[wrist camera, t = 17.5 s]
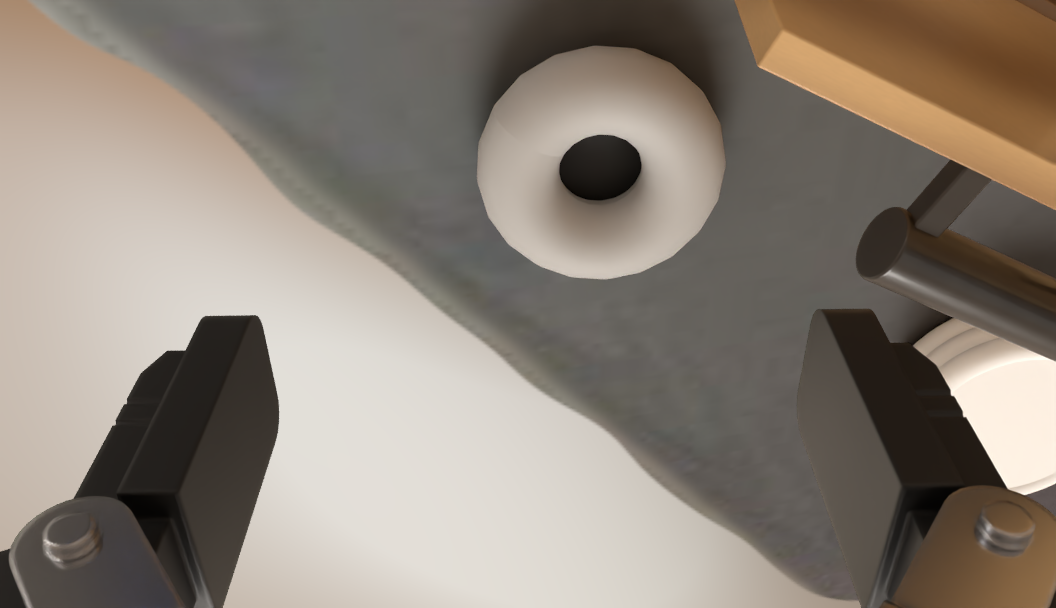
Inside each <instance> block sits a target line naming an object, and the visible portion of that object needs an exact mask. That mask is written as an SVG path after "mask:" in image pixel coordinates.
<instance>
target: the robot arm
mask: <svg viewBox="0 0 1056 608" xmlns="http://www.w3.org/2000/svg"><path fill="white" fill-rule="evenodd" d="M797 417H798V425H799V430H800V434H801V437H802V440H803V443H804V446H805V449H806V451H807V454H808V457H809V460H810V463H811V466H812V468H813V471H814V474H815V477H816V480H817V483H818V485H819V488H820V491H821V494H822V497H823V500H824V503H825V505H826V508H827V511H828V514H829V517H830V520H831V522H832V525H833V528H834V531H835V534H836V537H837V539H838V542H839V545H840V548H841V551H842V554H843V557H844V559H845V562H846V565H847V568H848V571H849V574H850V576H851V579H852V582H853V585H854V588H855V591H856V593H857V596H858V599H859V602H860V605H861V608H1056V517H1055V516H1054V515H1053V514H1052V513H1051V512H1050V511H1049V510H1047V509H1046V508H1045V507H1043V506H1042V505H1041V504H1039V503H1038V502H1036V501H1034V500H1033V499H1031V498H1029V497H1027V496H1025V495H1023V494H1020V493H1018V492H1015V491H1012V490H1009V489H1008V488H1007V487H1006V485H1005V483H1004V482H1003V480H1002V478H1001V476H1000V475H999V473H998V471H997V469H996V468H995V466H994V464H993V462H992V461H991V459H990V457H989V456H988V454H987V452H986V450H985V449H984V447H983V445H982V443H981V442H980V440H979V438H978V436H977V435H976V433H975V431H974V430H973V428H972V426H971V424H970V423H969V421H968V419H967V417H963V410H962V409H961V407H960V405H959V404H958V402H957V400H956V398H955V397H954V396H951V390H950V388H949V386H948V385H947V383H946V381H945V379H944V378H943V376H942V374H941V372H940V371H939V369H938V367H937V365H936V364H934V363H933V362H932V361H931V360H929V359H928V358H927V357H926V356H924V355H923V354H922V353H921V352H919V351H918V350H917V349H916V348H915V347H913V346H912V345H911V344H910V343H890V342H889V340H888V338H887V336H886V334H885V332H884V330H883V328H882V327H881V325H880V323H879V321H878V319H877V317H876V315H875V314H874V312H873V311H872V310H871V309H818V310H816V311H815V313H814V315H813V317H812V320H811V324H810V330H809V335H808V340H807V346H806V351H805V356H804V362H803V367H802V372H801V378H800V383H799V388H798V395H797ZM278 424H279V404H278V396H277V391H276V386H275V382H274V377H273V372H272V368H271V363H270V358H269V354H268V349H267V344H266V339H265V335H264V330H263V326H262V323H261V321H260V319H259V317H258V316H256V315H254V316H253V315H250V316H205V317H203V318H202V319H201V321H200V322H199V324H198V326H197V328H196V330H195V332H194V334H193V337H192V338H191V341H190V343H189V345H188V347H187V349H186V351H166V352H165V353H164V354H163V355H162V356H161V357H159V358H158V359H157V360H156V361H155V362H154V363H152V364H151V365H150V366H149V367H148V368H147V369H145V370H144V371H143V372H142V373H141V374H140V376H139V378H138V380H137V381H136V383H135V385H134V387H133V389H132V391H131V393H130V394H129V396H128V398H127V404H125V405H124V406H123V408H122V409H121V412H120V413H119V415H118V417H117V419H116V425H115V426H112V428H111V430H110V432H109V434H108V435H107V437H106V440H105V441H104V443H103V445H102V447H101V449H100V450H99V452H98V454H97V456H96V458H95V460H94V462H93V464H92V465H91V467H90V469H89V471H88V473H87V475H86V477H85V479H84V480H83V482H82V484H81V486H80V488H79V490H78V492H77V493H76V495H75V497H74V499H72V500H68V501H65V502H63V503H60V504H57V505H55V506H53V507H51V508H49V509H47V510H46V511H44V512H42V513H41V514H39V515H38V516H36V517H35V518H34V519H32V520H31V521H30V522H29V523H28V524H27V525H26V526H25V527H24V528H23V529H22V530H21V531H20V532H19V534H18V535H17V536H16V538H15V540H14V542H13V544H12V545H11V548H10V549H8V550H5V551H1V552H0V608H223V605H224V601H225V598H226V595H227V592H228V589H229V586H230V583H231V580H232V577H233V573H234V570H235V567H236V564H237V561H238V558H239V555H240V551H241V548H242V545H243V542H244V539H245V536H246V533H247V530H248V526H249V523H250V520H251V516H252V514H253V510H254V507H255V504H256V501H257V498H258V495H259V492H260V489H261V486H262V482H263V479H264V476H265V473H266V470H267V467H268V464H269V460H270V457H271V454H272V451H273V448H274V445H275V441H276V438H277V433H278Z"/></svg>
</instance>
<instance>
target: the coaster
mask: <svg viewBox="0 0 1056 608" xmlns="http://www.w3.org/2000/svg"><path fill="white" fill-rule="evenodd" d="M913 347H915V348H916V349H917V350H918V351H919V352H921V353H922V354H923V355H924V356H926V357H927V358H928V359H929V360H931V361H932V362H933V363H934V364H936V365H937V367H938V369H939V371H940V372H941V374H942V376H943V378H944V379H945V381H946V383H947V385H948V386H949V388H950V390H951V396H954V397H955V398H956V400H957V402H958V404H959V405H960V407H961V409H962V410H963V417H967V419H968V421H969V423H970V424H971V426H972V428H973V430H974V431H975V433H976V435H977V436H978V438H979V440H980V442H981V443H982V445H983V447H984V449H985V450H986V452H987V454H988V456H989V457H990V459H991V461H992V462H993V464H994V466H995V468H996V469H997V471H998V473H999V475H1000V476H1001V478H1002V480H1003V482H1004V483H1005V485H1006V487H1007V488H1008V489H1009V490H1012V491H1015V492H1018V493H1020V494H1023V495H1026V494H1030V493H1033V492H1036V491H1039V490H1042V489H1044V488H1046V487H1049V486H1051V485H1053V484H1055V483H1056V362H1055V361H1053V360H1051V359H1048V358H1046V357H1044V356H1041V355H1039V354H1037V353H1034V352H1032V351H1030V350H1027V349H1025V348H1023V347H1020V346H1018V345H1016V344H1013V343H1011V342H1009V341H1006V340H1004V339H1002V338H999V337H997V336H995V335H993V334H990V333H988V332H986V331H983V330H981V329H979V328H976V327H974V326H972V325H969V324H967V323H965V322H962V321H960V320H958V319H955V318H953V319H951V320H949V321H947V322H945V323H943V324H941V325H940V326H938V327H937V328H935V329H933V330H932V331H930V332H929V333H927V334H926V335H925V336H924V337H922V338H921V339H920V340H919V341H917V342H916V343H915V344H914V345H913Z"/></svg>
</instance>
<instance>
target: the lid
mask: <svg viewBox="0 0 1056 608" xmlns="http://www.w3.org/2000/svg"><path fill="white" fill-rule="evenodd" d="M735 3H736V6H737V9H738V12H739V15H740V17H741V20H742V23H743V26H744V29H745V32H746V34H747V37H748V40H749V43H750V46H751V48H752V51H753V54H754V57H755V60H756V63H757V65H758V67H760V68H762V69H764V70H766V71H768V72H770V73H772V74H774V75H776V76H778V77H780V78H783V79H785V80H787V81H789V82H791V83H793V84H795V85H797V86H799V87H801V88H803V89H805V90H807V91H810V92H812V93H814V94H816V95H818V96H820V97H822V98H824V99H826V100H828V101H830V102H832V103H834V104H836V105H839V106H841V107H843V108H845V109H847V110H849V111H851V112H853V113H855V114H857V115H859V116H861V117H863V118H866V119H868V120H870V121H872V122H874V123H876V124H878V125H880V126H882V127H884V128H886V129H888V130H890V131H893V132H895V133H897V134H899V135H901V136H903V137H905V138H907V139H909V140H911V141H913V142H915V143H917V144H919V145H922V146H924V147H926V148H928V149H930V150H932V151H934V152H936V153H938V154H940V155H942V156H944V157H946V158H949V159H951V160H950V161H949V162H948V163H947V164H946V165H945V166H944V168H943V169H942V170H941V171H940V172H939V173H938V175H937V176H936V177H935V178H934V179H933V180H932V181H931V183H930V184H929V185H928V186H927V187H926V188H925V189H924V191H923V192H922V193H921V194H920V195H919V196H918V197H917V199H916V200H915V201H914V202H913V203H912V204H911V205H910V207H909V208H908V209H907V210H906V209H904V208H901V207H892V208H889V209H886V210H884V211H883V212H881V213H880V214H879V215H878V216H876V217H875V218H874V220H873V221H872V222H871V223H870V224H869V226H868V227H867V229H866V230H865V232H864V234H863V236H862V238H861V240H860V242H859V245H858V248H857V253H856V268H857V271H858V273H859V274H860V276H861V277H862V278H863V279H865V280H867V281H870V282H872V283H874V284H877V285H879V286H881V287H884V288H886V289H888V290H890V291H893V292H895V293H897V294H900V295H902V296H904V297H907V298H909V299H911V300H914V301H916V302H918V303H921V304H923V305H925V306H928V307H930V308H932V309H935V310H937V311H939V312H942V313H944V314H946V315H948V316H951V317H953V318H955V319H958V320H960V321H962V322H965V323H967V324H969V325H972V326H974V327H976V328H979V329H981V330H983V331H986V332H988V333H990V334H993V335H995V336H997V337H999V338H1002V339H1004V340H1006V341H1009V342H1011V343H1013V344H1016V345H1018V346H1020V347H1023V348H1025V349H1027V350H1030V351H1032V352H1034V353H1037V354H1039V355H1041V356H1044V357H1046V358H1048V359H1051V360H1053V361H1055V362H1056V278H1054V277H1052V276H1050V275H1047V274H1045V273H1043V272H1041V271H1039V270H1037V269H1034V268H1032V267H1030V266H1028V265H1026V264H1023V263H1021V262H1019V261H1017V260H1015V259H1013V258H1010V257H1008V256H1006V255H1004V254H1002V253H1000V252H997V251H995V250H993V249H991V248H989V247H986V246H984V245H982V244H980V243H978V242H976V241H973V240H971V239H969V238H967V237H965V236H962V235H960V234H958V233H956V232H954V231H952V230H949V229H947V228H948V227H949V226H950V225H951V223H952V222H953V221H954V220H955V219H956V218H957V217H958V216H959V215H960V214H961V213H962V211H963V210H964V209H965V208H966V207H967V206H968V205H969V204H970V203H971V202H972V201H973V199H974V198H975V197H976V196H977V195H978V194H979V193H980V192H981V191H982V190H983V189H984V188H985V186H986V185H987V184H988V183H989V182H990V181H991V180H994V181H996V182H998V183H1000V184H1003V185H1005V186H1007V187H1009V188H1011V189H1013V190H1015V191H1017V192H1019V193H1021V194H1023V195H1025V196H1027V197H1029V198H1032V199H1034V200H1036V201H1038V202H1040V203H1042V204H1044V205H1046V206H1048V207H1050V208H1052V209H1054V210H1056V22H1055V21H1053V20H1051V19H1049V18H1047V17H1045V16H1044V15H1042V14H1040V13H1038V12H1036V11H1034V10H1033V9H1031V8H1029V7H1027V6H1025V5H1023V4H1022V3H1020V2H1018V1H1016V0H735Z"/></svg>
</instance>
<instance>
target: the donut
mask: <svg viewBox="0 0 1056 608" xmlns="http://www.w3.org/2000/svg"><path fill="white" fill-rule="evenodd" d="M599 134H601V135H614V136H617V137H619V138H622V139H624V140H627V141H628V142H629V143H630V144H632V145H633V146H634V147H635V148H636V149H637V151H638V152H639V154H640V158H641V163H642V167H641V172H640V174H639V176H638V178H637V180H636V182H635V183H634V184H633V185H632V186H631V187H630V188H629V189H628V190H627V191H626V192H625V193H623V194H621V195H619V196H617V197H615V198H611V199H606V200H602V201H598V200H586V199H583V198H581V197H578V196H576V195H574V194H573V193H572V192H571V191H569V190H568V189H567V188H566V187H565V186H564V184H563V183H562V181H561V178H560V174H559V168H560V162H561V160H562V158H563V156H564V154H565V153H566V152H567V151H568V150H569V149H570V148H571V146H572V145H573V144H575V143H577V142H579V141H580V140H582V139H584V138H586V137H590V136H595V135H599ZM725 166H726V160H725V152H724V145H723V138H722V131H721V124H720V122H719V120H718V118H717V117H716V115H715V113H714V111H713V109H712V107H711V105H710V104H709V102H708V100H707V98H706V96H705V94H704V93H703V91H702V90H701V89H700V88H699V87H698V86H697V85H695V84H694V83H693V82H692V81H691V80H690V79H689V78H687V77H686V76H685V75H684V74H683V73H682V72H681V71H679V70H678V69H677V68H676V67H675V66H674V65H673V64H672V63H670V62H667V61H665V60H662V59H660V58H657V57H655V56H652V55H650V54H647V53H645V52H643V51H640V50H638V49H635V48H623V47H609V46H590V47H586V48H582V49H577V50H573V51H569V52H565V53H561V54H557V55H554V56H552V57H550V58H549V59H547V60H545V61H544V62H542V63H540V64H539V65H537V66H535V67H534V68H532V69H530V70H529V71H527V72H525V73H524V74H522V75H520V76H519V77H518V79H517V80H516V81H515V82H514V83H513V84H512V85H511V87H510V88H509V89H508V90H507V91H506V92H505V93H504V94H503V96H502V97H501V98H500V99H499V100H498V101H497V102H496V104H495V105H494V107H493V109H492V112H491V114H490V116H489V119H488V121H487V124H486V126H485V129H484V131H483V133H482V136H481V138H480V141H479V143H478V164H477V181H478V185H479V188H480V191H481V195H482V198H483V201H484V204H485V208H486V211H487V214H488V217H489V218H490V220H491V221H492V223H493V224H494V225H495V227H496V228H497V229H498V231H499V232H500V233H501V235H502V236H503V237H504V239H505V240H506V242H507V243H508V244H509V245H510V246H512V247H513V248H514V249H516V250H517V251H519V252H520V253H521V254H523V255H524V256H526V257H527V258H528V259H530V260H531V261H533V262H534V263H535V264H537V265H538V266H540V267H543V268H546V269H549V270H552V271H555V272H558V273H561V274H564V275H567V276H570V277H575V278H592V279H611V278H615V277H620V276H625V275H630V274H635V273H640V272H642V271H644V270H646V269H648V268H650V267H652V266H654V265H656V264H658V263H660V262H662V261H664V260H666V259H668V258H670V257H672V256H673V255H674V254H675V253H676V252H678V251H679V250H680V249H681V248H682V247H683V246H684V245H685V244H686V243H687V242H688V241H690V240H691V239H692V238H693V237H694V236H695V235H696V234H697V233H698V232H699V231H700V230H701V228H702V226H703V225H704V223H705V221H706V220H707V218H708V216H709V215H710V213H711V211H712V210H713V208H714V206H715V204H716V203H717V201H718V199H719V194H720V190H721V185H722V180H723V176H724V171H725Z"/></svg>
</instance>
